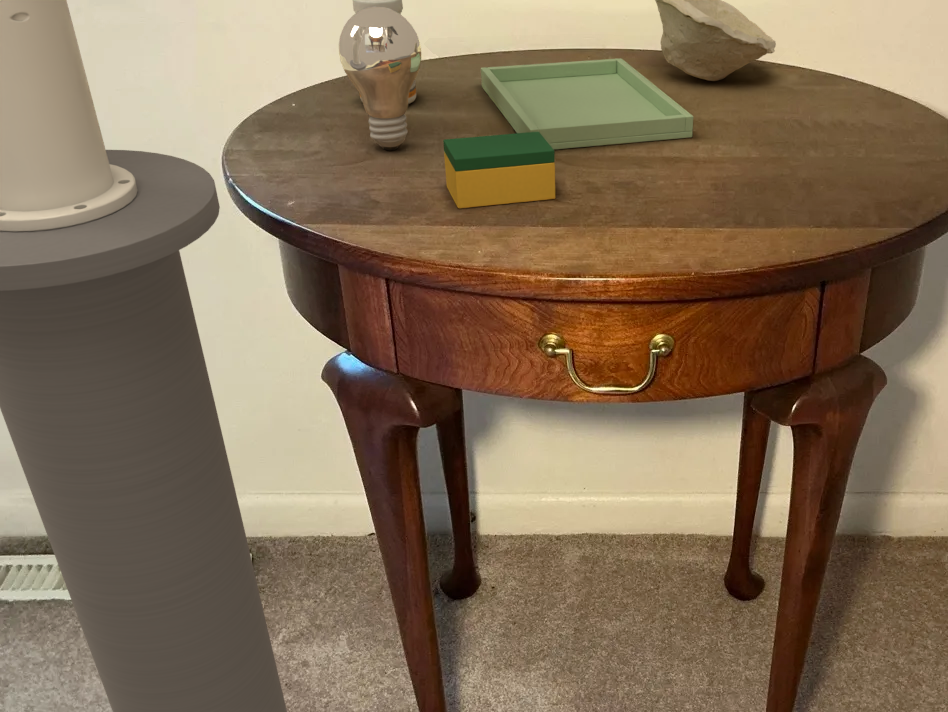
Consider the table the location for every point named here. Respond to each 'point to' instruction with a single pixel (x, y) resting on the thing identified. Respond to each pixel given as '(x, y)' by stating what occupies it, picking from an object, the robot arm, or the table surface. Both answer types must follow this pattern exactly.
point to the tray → (585, 103)
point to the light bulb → (381, 69)
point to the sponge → (499, 169)
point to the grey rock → (709, 37)
